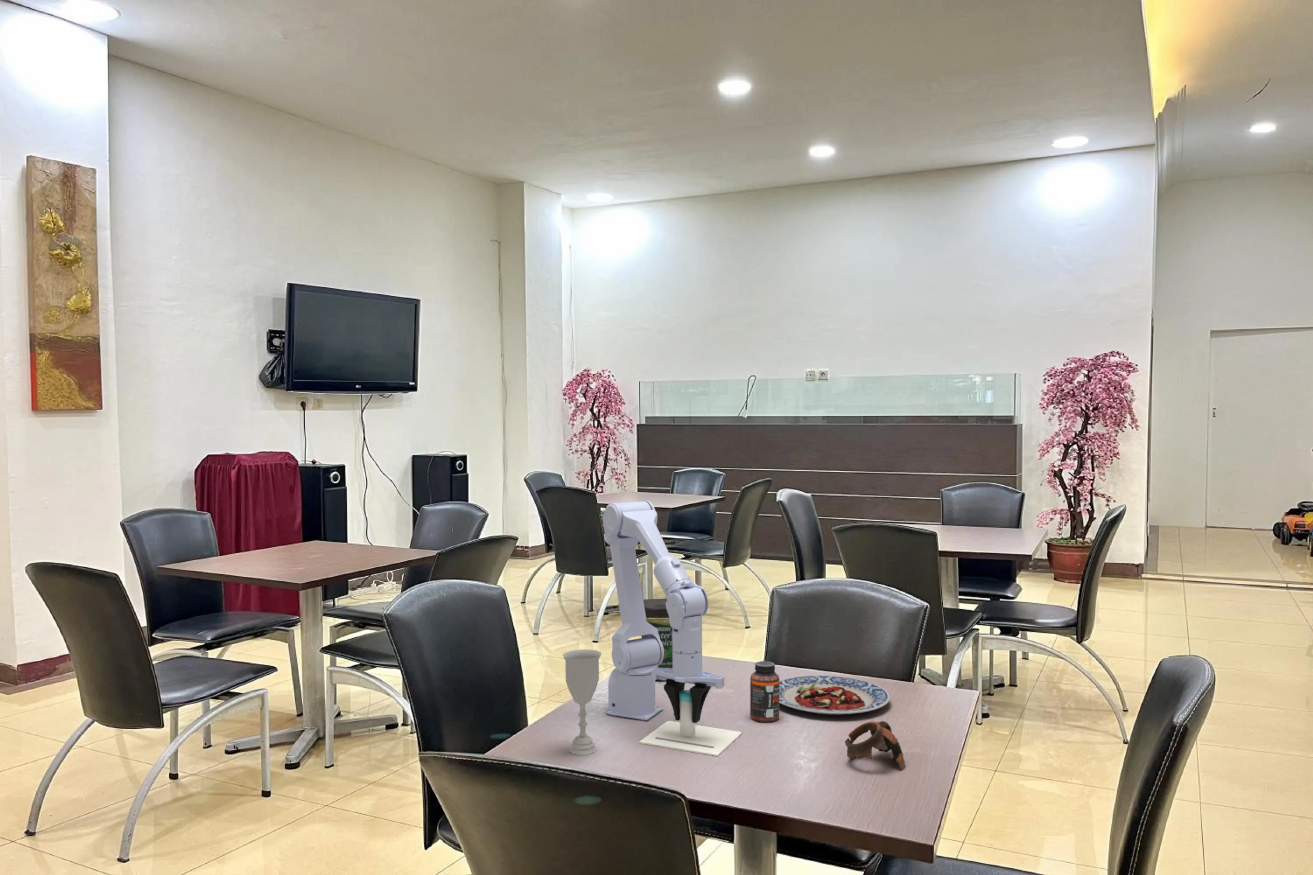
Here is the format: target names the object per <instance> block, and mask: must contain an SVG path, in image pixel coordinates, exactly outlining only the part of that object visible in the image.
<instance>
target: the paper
mask: <svg viewBox="0 0 1313 875" xmlns="http://www.w3.org/2000/svg"><path fill="white" fill-rule="evenodd" d="M695 730H696V734H695V735H694V736H682V735H680V721H672V720H667V721H666V722H664V723H663V724H661V725H660V726H658V727H657V728H656V729H654V730H653V731H652V732H651V733H649V734H648V735H646V736H645V737H644V738H642V739H641V740H640V741H638V742H639V744H643V745H646V746H647V745H648V746H654V747H660V748H666V749H671V750H678V751H683V752H689V753H696V754H701V755H707V756H712V755H713V756H712V757H719V756H720V755H721V754H722V753H723V752H724V751H725V750H727V748H728V746H729V747H730V746H731V745H732V744H733V743H734V742H735V741H736V740H737V739H738V738H740V737H741V736H742V735H743V732H742V731H737V730H732V729H724V728H719V727H711V726H704V725H698V724H695ZM741 734H742V735H741ZM733 741H734V742H733ZM718 755H719V756H718Z"/></svg>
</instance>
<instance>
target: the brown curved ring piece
mask: <svg viewBox="0 0 1313 875" xmlns="http://www.w3.org/2000/svg"><path fill="white" fill-rule="evenodd" d="M869 731H870V732H869ZM868 732H869V733H870V735H871V736H870V737H868V738H867V739H865V740H864V741H862V742H858V743H854V742H855V741H857V739H858V738H859V737H860V736H863V735H864V734H867V733H868ZM847 736H848V738H847V739H846V740H844V744H845V746H846V750H847V751H846V753H847V754H846V757H847V758H848V759H849V760H850V761H853V760H856V759H858V760H859V759H862V758H868V759H870V760H873V756H872V753H873V752H872V751H873V748H874V749H876V750H878V752H884V753H888V752H891V753H892V759H893V760H895V761H896V763H897V764H898V768H899V771H903V770H904V768H905V766H906V765H905V764H906V761H905V758H904V753H903V750H902V749H901V748H902V747H901V746H900V742H899V741H898V738H897V737H896V735H895V734H894V733H893V731H892V728H891V725H890V724H889V723H888V722H886V721H884V720H881V721H867V722H864V723H862V724H861V725H858V726H857V727H856V728H854V729H852V730H851V731H850V733H849V734H848V735H847Z"/></svg>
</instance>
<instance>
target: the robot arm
mask: <svg viewBox="0 0 1313 875" xmlns="http://www.w3.org/2000/svg"><path fill="white" fill-rule="evenodd" d="M602 523H603V529H604V530H603V531H604V536H605V542H606V544H608V545H609V548H610V555H611V562H612V567H613V568H612V569H613V574H614V582H615V587H616V594H617V600H618V606H619V607H618V608H619V614H620V620H621V625H620V627H619V628H618V629H617V631H616V632H615V633H613V635H612V636H611V641H612V650H611V660H612V663H613V666H614V667H615V668H614V669H613V670H612V671H611V672H610V673H609V674H610V675H609V677H608V683H607V686H608V688H607V689H608V690H607V691H608V699H607V700H608V711H606V714H607V715H609V716H616V717H622V718H628V719H635V720H640V721H641V720H643V721H648V720H650V719H651V718H653V717H654V716H656V715H657V714H659V713H660V712H661V711H662V710H664V707H662V706H658V705H656V681H655V680H657V679H660V681H666V682H665V684H663V690H664V692H665V693H666V695H667V698H668V699H669V701H670V704H671V707H672V711H673V713H674V715H673V716H674V719H675V721H676V722H680V699H679V692H680V691H683V690H685V687H686V686H685V685H686V684H690V685H691V684H692V685H693V686H691V687H690V688H689V690H690V694H691V700H692V722H693V723H695V724H697V723H698V722H700V721H701V715H702V710H703V708H704V707H703V706H704V704H705V701H706V699H707V697H708V694H709V692H710V690H711V688H712V687H713V688H716V689H720V690H721V689H723V688H724V687H725V676H724V675H719V674H715V673H712V672H708V671H704V670H703V616H705V615H706V614H707V612H708V608H709V598H708V595H707V592H706V590H705V588H704V587H702V586H701V585H698V584H697V583H696V582H694V581H692V580H691V578H690V576H689V575H688V572H687V570H685V568H684V566H683V564H682V563H681V561H680V559H679V558H678V557H675V556H671V555H670V551H669V550H668V548H667V546H666V544H665V542H664V539H663V537H662V535H661V532H660V531H659V529H658V526H657V525H658V513H657V511H656V508H655V507H654V504H653V502H651V501H650V500H645V499H644V500H642V501H641V500H640V501H629V502H628V501H627V502H609V503H608V504H607V506H606V508H605V509H604V511H603V514H602ZM638 543H640V545H641V546H642V547H643V549H644V550H645V552H646V553H647V555H648V556H649V558H650V559H651V561H653V563H654V567H653V571H652V572H653V575H654V577H655V579H656V581H657V583H658V584H659V585H660V588H661V589H662V591H663V593H664V595H665V596H666V599H667V602H666V609H667V612H668V614H669V619H670V626H671V627H672V642H673V668H658V665H660V664H661V663H662V661H663V657H664V648H663V645H662V642H661V640H660V638H659V634H658V630H657V629H656V628H655V627H653V626H652V625H651V624H649V623H648V622H647V621H646V615H645V608H644V602H643V599H644V596H643V590H642V584H641V577H640V572H639V570H640V569H639V565H638V560H637V558H638V557H637V553H636V552H637V551H636V547H637V545H638ZM635 637H640V638H635ZM642 637H644V638H642ZM630 638H635V639H630Z"/></svg>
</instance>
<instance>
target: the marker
mask: <svg viewBox="0 0 1313 875" xmlns="http://www.w3.org/2000/svg"><path fill="white" fill-rule="evenodd" d="M679 699H680V720H679V722H680V735H682V736H694V735H695V734H696V730H695V725H696V723H693V722H692V700H691V694H690V689H684V690H683V691H680V692H679Z"/></svg>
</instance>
